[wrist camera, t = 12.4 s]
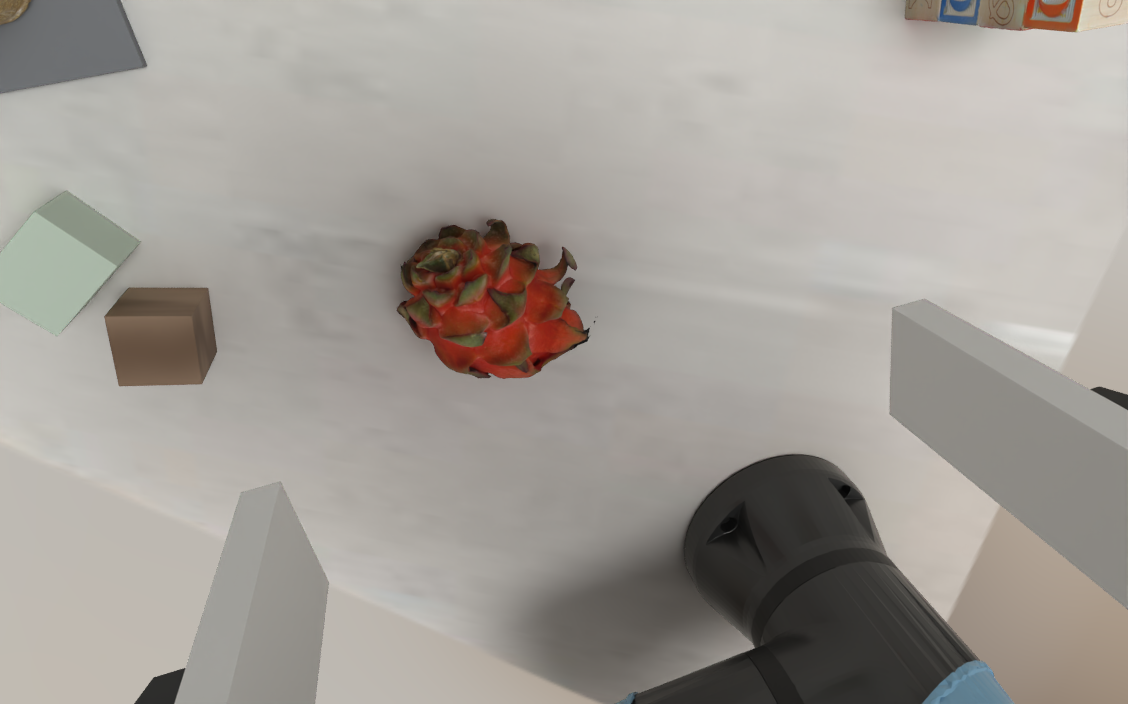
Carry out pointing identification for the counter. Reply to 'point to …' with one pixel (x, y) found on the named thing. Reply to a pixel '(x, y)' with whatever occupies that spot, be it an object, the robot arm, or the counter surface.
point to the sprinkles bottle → (12, 10)
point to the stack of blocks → (1023, 13)
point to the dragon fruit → (490, 303)
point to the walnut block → (161, 336)
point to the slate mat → (66, 43)
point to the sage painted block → (60, 261)
